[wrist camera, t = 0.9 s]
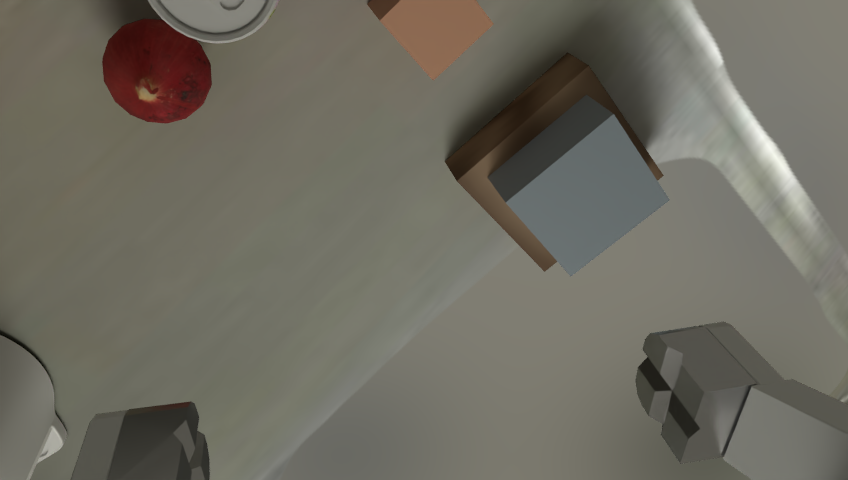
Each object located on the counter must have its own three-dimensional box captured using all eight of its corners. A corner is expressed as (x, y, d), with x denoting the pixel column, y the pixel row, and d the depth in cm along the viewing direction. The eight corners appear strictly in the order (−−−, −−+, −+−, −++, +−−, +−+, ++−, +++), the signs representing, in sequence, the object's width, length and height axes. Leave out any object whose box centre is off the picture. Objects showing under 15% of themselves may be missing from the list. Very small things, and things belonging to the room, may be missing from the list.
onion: (228, 35, 39) (222, 71, 33) (196, 114, 41) (184, 162, 35) (133, -11, 37) (105, 18, 30) (103, 75, 39) (71, 120, 32)
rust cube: (416, 59, 43) (433, 80, 39) (367, 4, 40) (379, 20, 36) (470, 7, 42) (493, 23, 38) (423, -53, 39) (443, -43, 35)
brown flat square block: (526, 246, 54) (544, 271, 51) (443, 158, 48) (457, 181, 44) (637, 155, 52) (663, 175, 48) (564, 50, 45) (588, 65, 42)
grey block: (549, 248, 50) (570, 276, 46) (487, 177, 45) (505, 202, 42) (641, 176, 48) (669, 199, 45) (586, 94, 43) (613, 113, 40)
